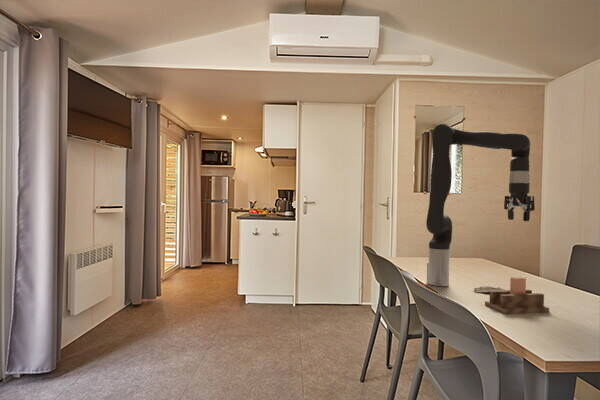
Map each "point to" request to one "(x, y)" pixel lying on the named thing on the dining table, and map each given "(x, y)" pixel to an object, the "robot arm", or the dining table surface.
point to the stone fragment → (487, 289)
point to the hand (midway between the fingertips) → (518, 220)
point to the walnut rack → (516, 302)
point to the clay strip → (517, 285)
